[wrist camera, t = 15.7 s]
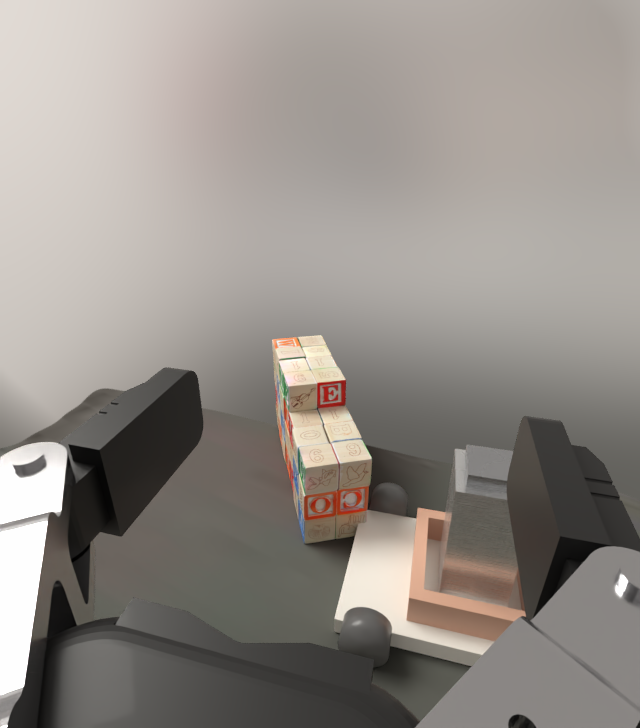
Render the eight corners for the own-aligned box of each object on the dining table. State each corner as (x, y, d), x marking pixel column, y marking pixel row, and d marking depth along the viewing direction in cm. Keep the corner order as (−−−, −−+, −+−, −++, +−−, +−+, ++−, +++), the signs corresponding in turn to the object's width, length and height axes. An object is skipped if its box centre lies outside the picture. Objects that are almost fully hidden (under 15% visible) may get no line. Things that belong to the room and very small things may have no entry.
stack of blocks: (367, 536, 44) (375, 430, 38) (303, 547, 43) (301, 439, 37) (321, 415, 63) (321, 333, 57) (275, 421, 61) (271, 337, 56)
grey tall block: (437, 601, 36) (457, 479, 31) (439, 551, 40) (456, 437, 35) (505, 616, 35) (537, 492, 29) (499, 563, 39) (526, 447, 34)
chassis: (327, 657, 33) (328, 621, 32) (364, 506, 47) (366, 475, 46) (636, 739, 29) (657, 701, 27) (576, 545, 43) (587, 512, 41)
